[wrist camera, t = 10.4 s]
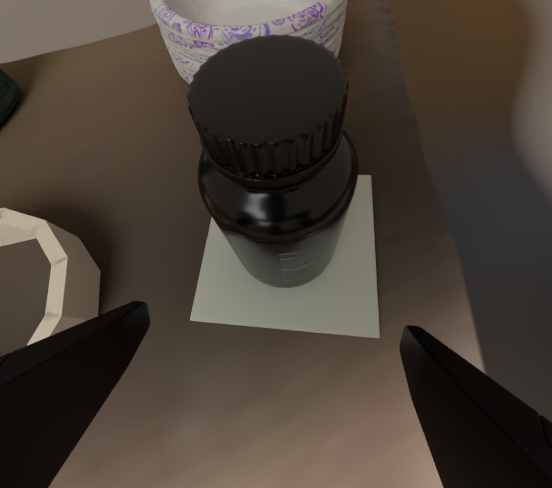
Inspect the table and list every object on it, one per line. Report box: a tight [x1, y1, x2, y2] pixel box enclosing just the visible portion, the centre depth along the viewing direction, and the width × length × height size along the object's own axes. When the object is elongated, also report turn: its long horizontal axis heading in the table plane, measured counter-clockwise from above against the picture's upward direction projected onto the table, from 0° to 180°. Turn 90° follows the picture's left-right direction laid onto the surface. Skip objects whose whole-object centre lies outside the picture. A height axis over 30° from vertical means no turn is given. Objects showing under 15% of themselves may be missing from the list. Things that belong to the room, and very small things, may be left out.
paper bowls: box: [150, 0, 347, 84], centre depth 23 cm, size 15×15×8 cm
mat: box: [190, 175, 380, 338], centre depth 19 cm, size 12×12×1 cm
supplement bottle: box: [187, 34, 358, 288], centre depth 13 cm, size 7×7×12 cm
